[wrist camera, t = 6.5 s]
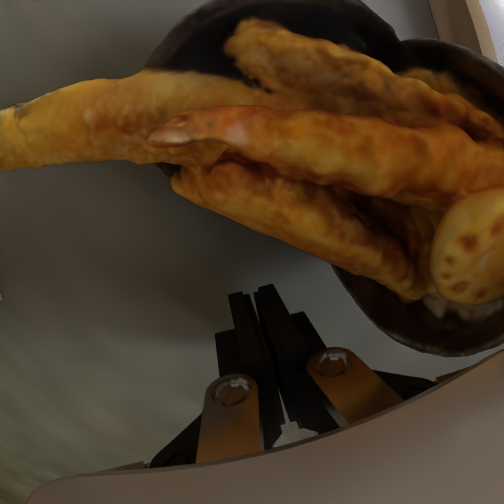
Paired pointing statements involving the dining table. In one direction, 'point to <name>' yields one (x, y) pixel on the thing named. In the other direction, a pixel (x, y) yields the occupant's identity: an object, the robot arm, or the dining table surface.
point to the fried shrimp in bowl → (316, 151)
